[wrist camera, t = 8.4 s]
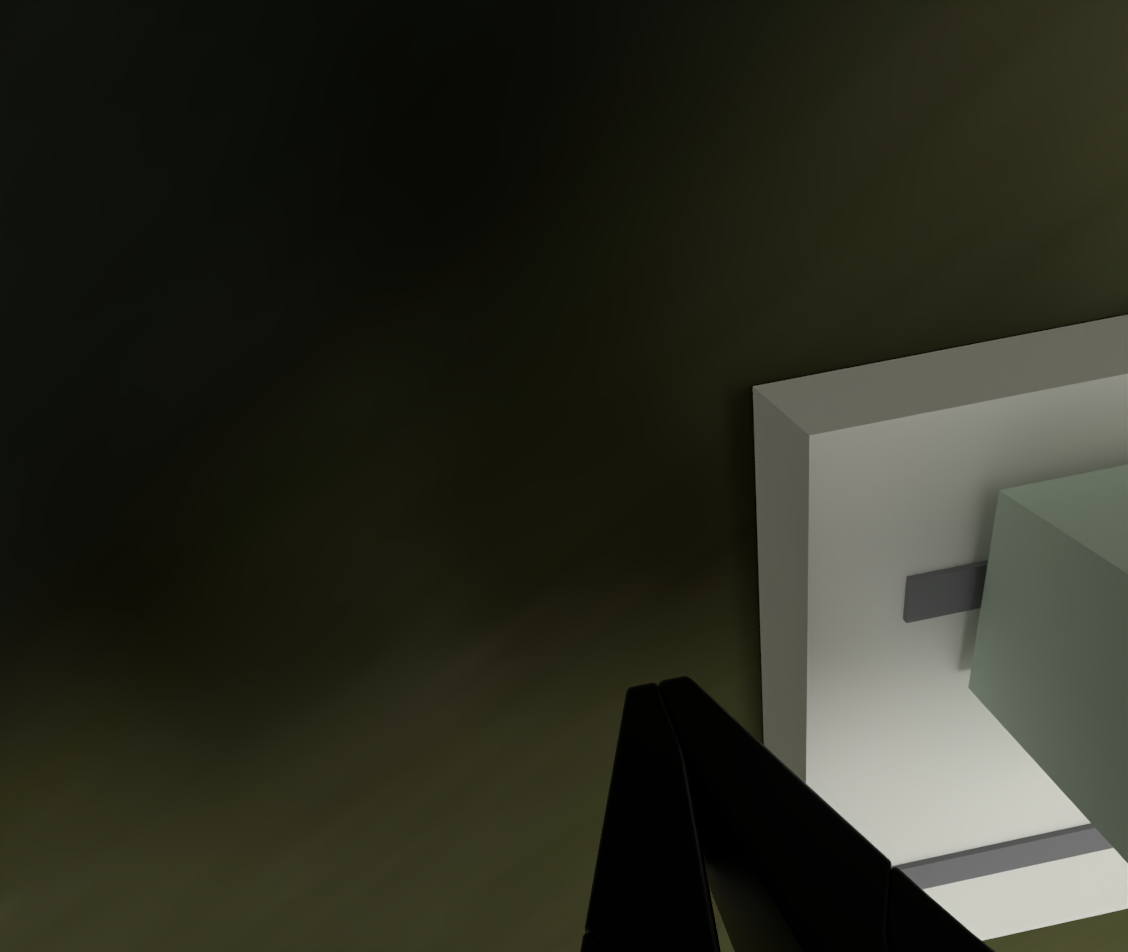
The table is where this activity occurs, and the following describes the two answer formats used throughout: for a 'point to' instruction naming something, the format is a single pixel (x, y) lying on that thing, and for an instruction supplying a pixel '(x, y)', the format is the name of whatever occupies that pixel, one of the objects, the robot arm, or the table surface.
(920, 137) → the table surface
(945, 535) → the mixer console
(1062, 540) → the sage fader
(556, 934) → the table surface
